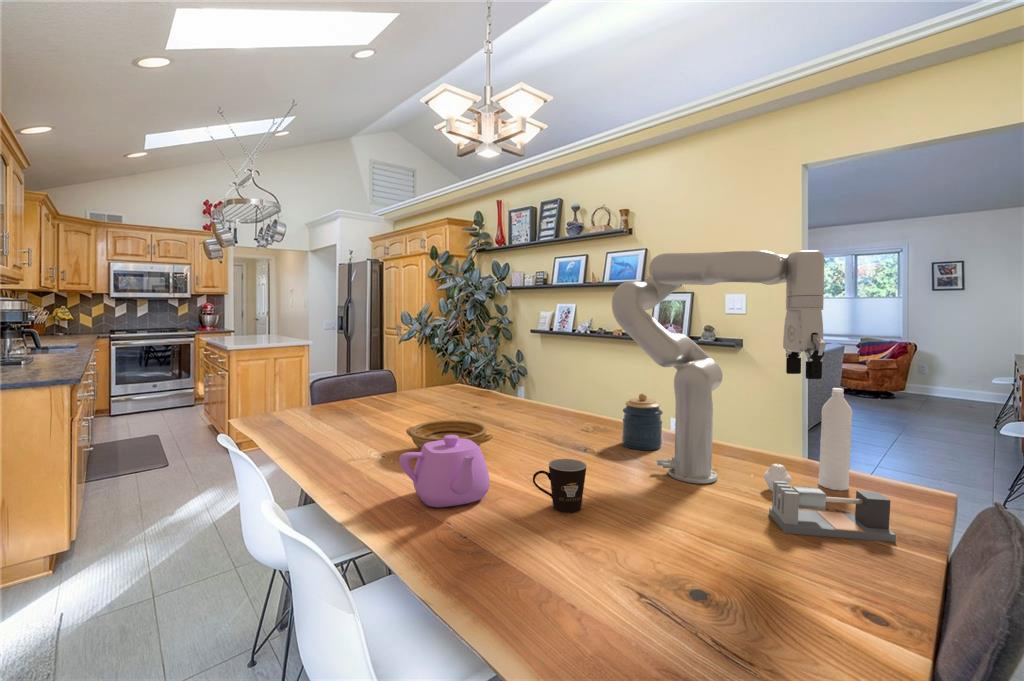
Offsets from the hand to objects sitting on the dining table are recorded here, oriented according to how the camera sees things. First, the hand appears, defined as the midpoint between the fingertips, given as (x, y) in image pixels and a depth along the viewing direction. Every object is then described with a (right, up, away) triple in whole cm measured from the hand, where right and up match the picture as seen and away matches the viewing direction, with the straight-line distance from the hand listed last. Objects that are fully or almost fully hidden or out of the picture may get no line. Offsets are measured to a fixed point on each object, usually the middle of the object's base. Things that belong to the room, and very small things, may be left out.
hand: (803, 376), depth 111 cm
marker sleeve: (-7, -26, -13) cm, 30 cm away
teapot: (-84, -30, +2) cm, 89 cm away
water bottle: (+15, -30, +11) cm, 35 cm away
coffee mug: (-58, -30, -3) cm, 65 cm away
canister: (-25, -27, +47) cm, 60 cm away
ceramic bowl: (-89, -28, +37) cm, 101 cm away
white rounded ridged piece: (-2, -30, +7) cm, 31 cm away
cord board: (-3, -31, -13) cm, 34 cm away
